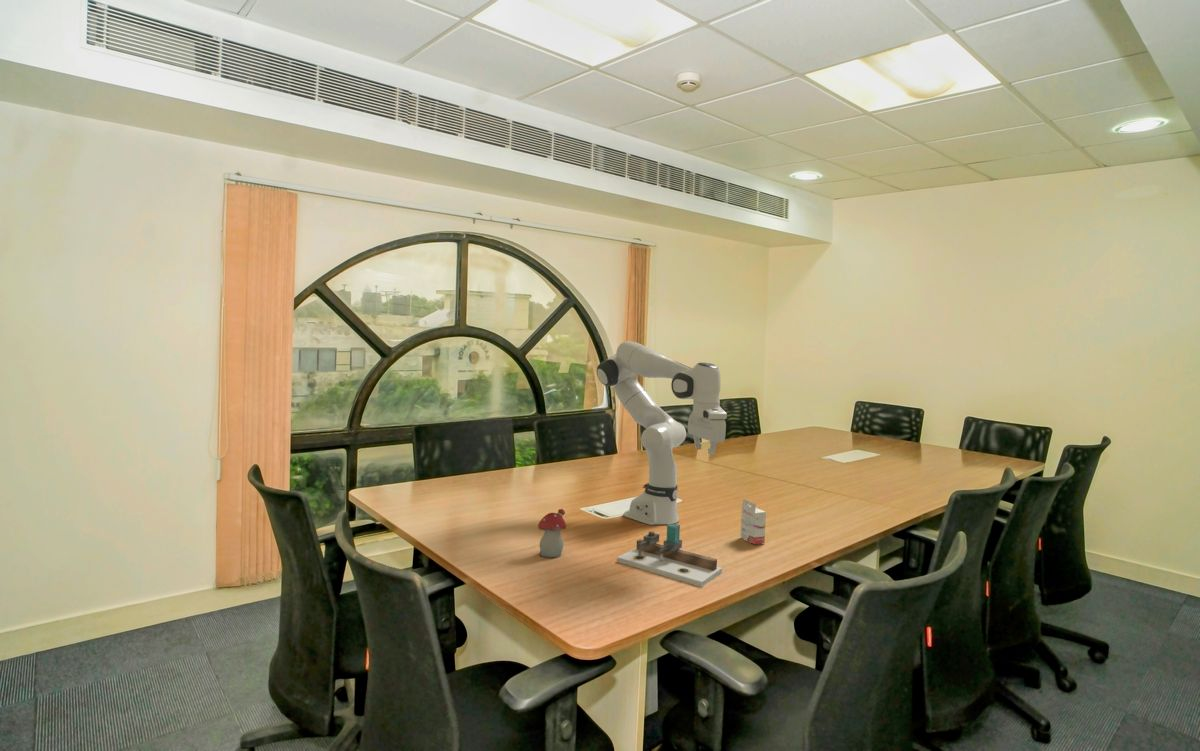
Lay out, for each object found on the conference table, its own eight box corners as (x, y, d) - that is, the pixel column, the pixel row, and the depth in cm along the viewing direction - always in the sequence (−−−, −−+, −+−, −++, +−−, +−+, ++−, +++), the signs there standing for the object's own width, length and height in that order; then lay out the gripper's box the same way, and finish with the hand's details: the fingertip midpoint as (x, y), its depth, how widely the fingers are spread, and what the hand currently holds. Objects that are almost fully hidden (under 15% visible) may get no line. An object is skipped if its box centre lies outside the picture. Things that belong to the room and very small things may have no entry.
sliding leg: (655, 559, 186) (656, 529, 185) (670, 551, 194) (671, 522, 194) (666, 562, 184) (667, 532, 183) (681, 554, 192) (682, 524, 191)
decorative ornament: (565, 551, 198) (566, 507, 197) (566, 558, 192) (567, 512, 191) (537, 551, 197) (538, 507, 196) (537, 558, 191) (538, 512, 190)
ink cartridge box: (765, 544, 212) (767, 503, 211) (753, 545, 210) (755, 504, 209) (751, 536, 220) (753, 497, 219) (739, 537, 218) (741, 498, 217)
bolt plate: (616, 561, 190) (617, 556, 190) (640, 550, 202) (640, 545, 202) (701, 586, 173) (702, 581, 173) (722, 572, 184) (722, 567, 184)
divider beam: (625, 554, 192) (626, 534, 192) (641, 546, 201) (642, 527, 200) (704, 577, 176) (705, 555, 176) (718, 567, 184) (719, 546, 184)
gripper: (684, 407, 209) (682, 446, 210) (712, 414, 190) (710, 457, 190) (700, 407, 211) (698, 446, 212) (729, 414, 192) (728, 456, 192)
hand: (704, 451), depth 201 cm, fingers open, 8 cm apart
